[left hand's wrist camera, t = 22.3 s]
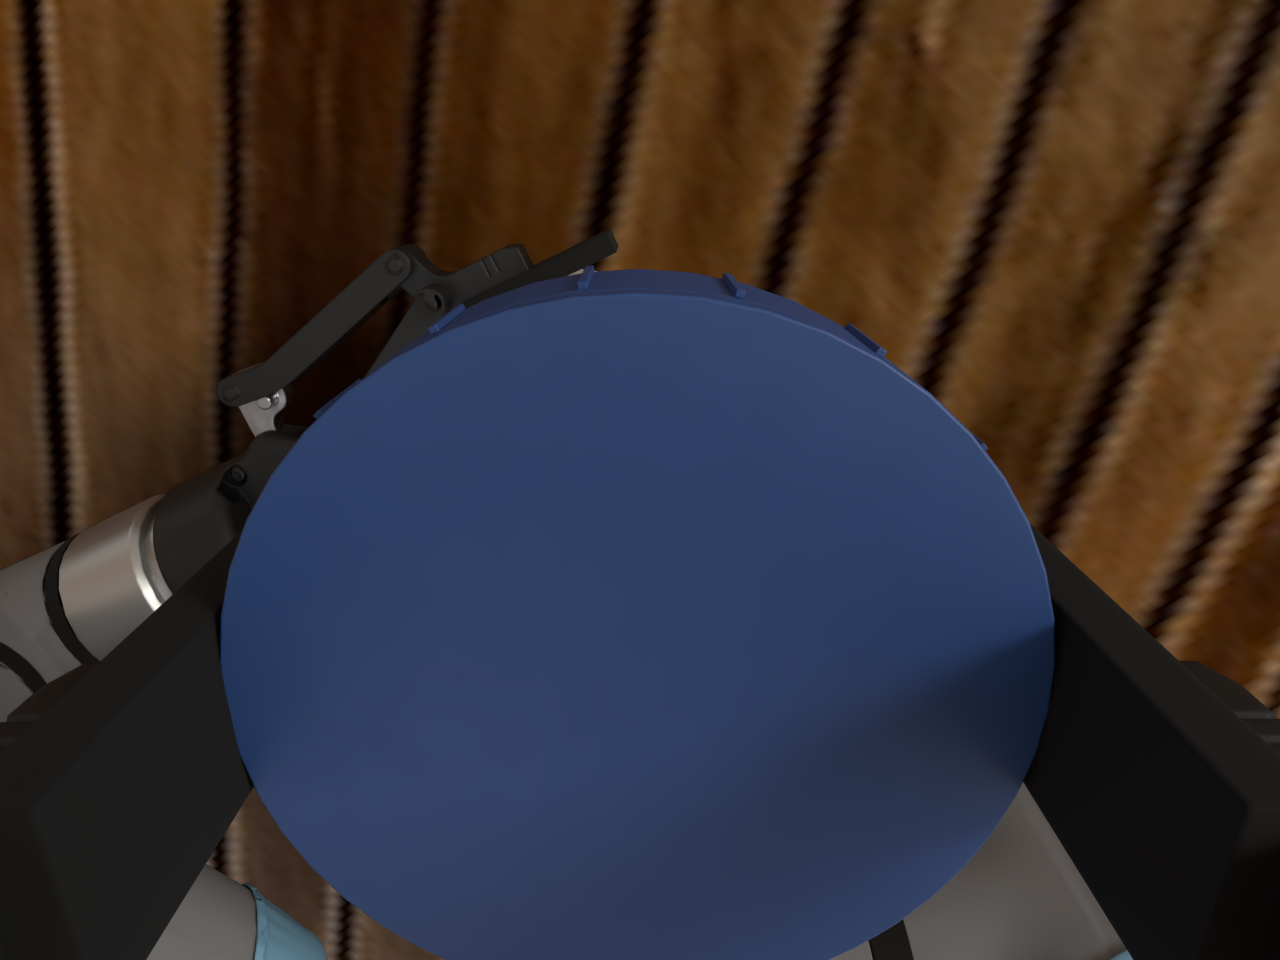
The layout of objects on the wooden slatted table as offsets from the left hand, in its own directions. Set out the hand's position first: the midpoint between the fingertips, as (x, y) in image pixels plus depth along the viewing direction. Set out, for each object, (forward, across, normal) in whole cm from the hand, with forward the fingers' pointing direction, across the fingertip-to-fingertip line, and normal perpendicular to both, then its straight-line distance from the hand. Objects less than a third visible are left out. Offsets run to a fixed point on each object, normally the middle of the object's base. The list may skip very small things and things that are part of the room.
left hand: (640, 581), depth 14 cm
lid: (-3, 0, 0) cm, 3 cm away
